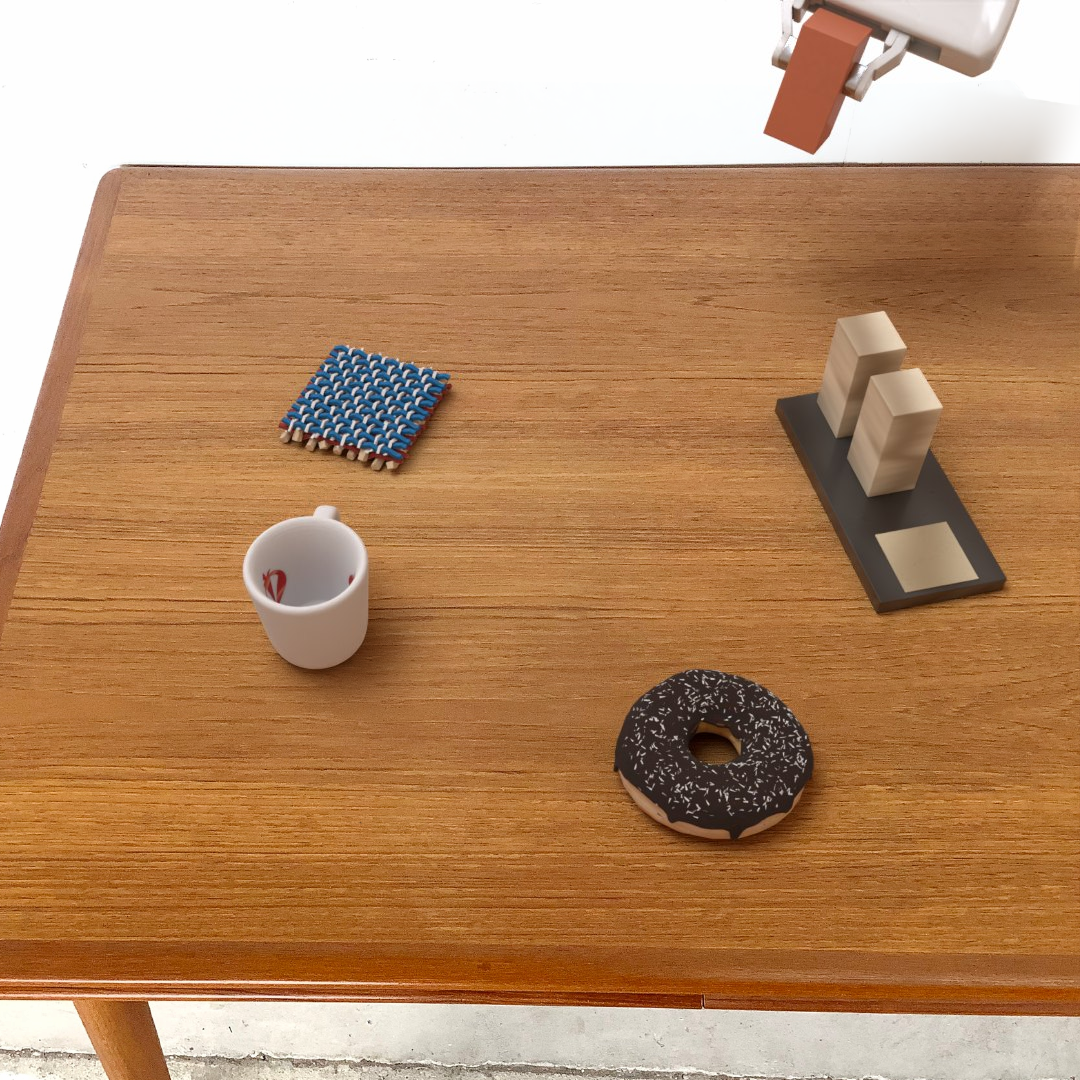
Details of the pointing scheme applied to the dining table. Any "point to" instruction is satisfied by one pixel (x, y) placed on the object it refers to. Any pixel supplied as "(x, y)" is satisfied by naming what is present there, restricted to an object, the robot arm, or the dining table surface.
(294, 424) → the woven mat
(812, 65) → the terracotta rectangular block
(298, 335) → the dining table surface
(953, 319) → the dining table surface
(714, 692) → the donut
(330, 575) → the cup
